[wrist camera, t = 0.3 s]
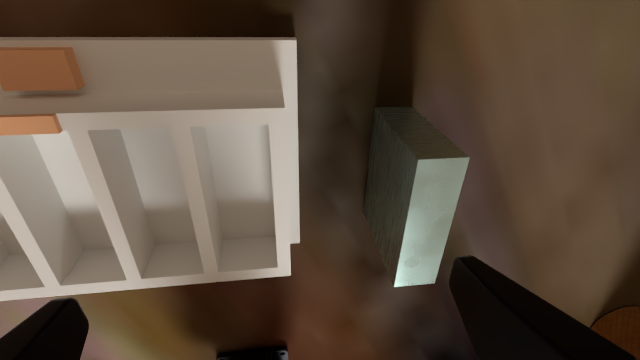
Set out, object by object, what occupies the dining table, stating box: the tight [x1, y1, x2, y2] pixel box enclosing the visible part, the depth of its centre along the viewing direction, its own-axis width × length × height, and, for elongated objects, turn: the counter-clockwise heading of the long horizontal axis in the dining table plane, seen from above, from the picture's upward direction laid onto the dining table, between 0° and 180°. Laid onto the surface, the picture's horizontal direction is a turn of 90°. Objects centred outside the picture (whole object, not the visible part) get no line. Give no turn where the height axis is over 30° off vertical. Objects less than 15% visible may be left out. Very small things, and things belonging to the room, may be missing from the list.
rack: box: [0, 37, 300, 301], centre depth 18 cm, size 14×20×4 cm
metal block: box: [363, 107, 470, 287], centre depth 20 cm, size 8×2×7 cm, turn 179°
